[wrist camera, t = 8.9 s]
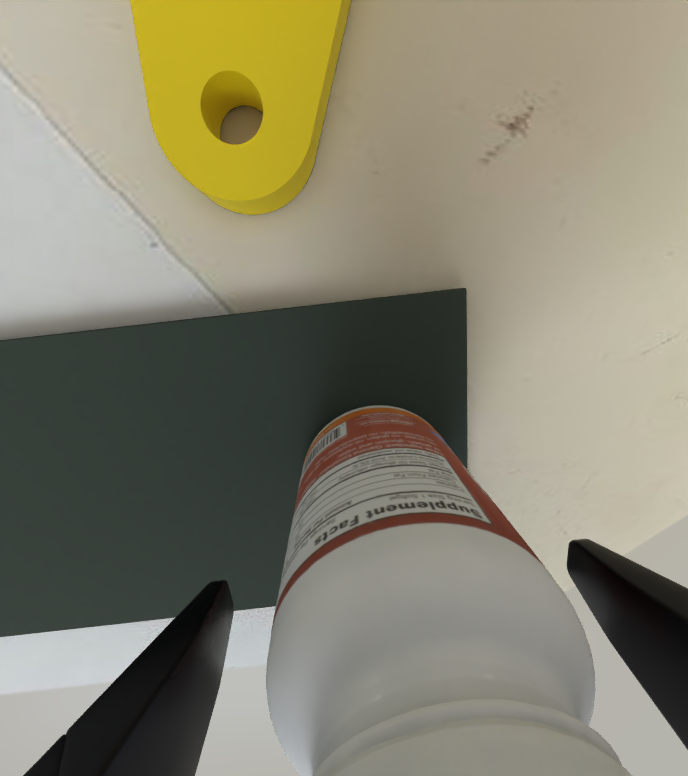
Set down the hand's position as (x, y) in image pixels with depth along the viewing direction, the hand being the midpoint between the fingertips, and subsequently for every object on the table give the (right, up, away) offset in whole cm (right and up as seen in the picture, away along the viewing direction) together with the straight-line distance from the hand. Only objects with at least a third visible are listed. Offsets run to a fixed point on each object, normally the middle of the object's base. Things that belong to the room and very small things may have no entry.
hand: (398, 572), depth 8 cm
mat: (-9, +1, +6) cm, 11 cm away
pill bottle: (0, +1, +6) cm, 6 cm away
